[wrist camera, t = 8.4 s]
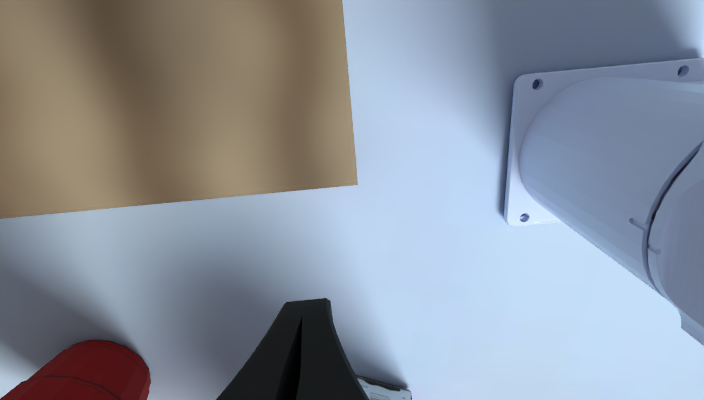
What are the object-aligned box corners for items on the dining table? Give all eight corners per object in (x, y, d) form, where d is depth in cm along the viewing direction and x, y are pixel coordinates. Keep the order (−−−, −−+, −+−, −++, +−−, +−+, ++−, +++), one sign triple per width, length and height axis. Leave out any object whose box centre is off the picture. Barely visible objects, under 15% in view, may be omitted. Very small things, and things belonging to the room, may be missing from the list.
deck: (335, -57, 16) (335, -77, 13) (355, 168, 19) (357, 184, 17) (-236, -6, 15) (-337, -16, 13) (-105, 212, 19) (-166, 234, 17)
